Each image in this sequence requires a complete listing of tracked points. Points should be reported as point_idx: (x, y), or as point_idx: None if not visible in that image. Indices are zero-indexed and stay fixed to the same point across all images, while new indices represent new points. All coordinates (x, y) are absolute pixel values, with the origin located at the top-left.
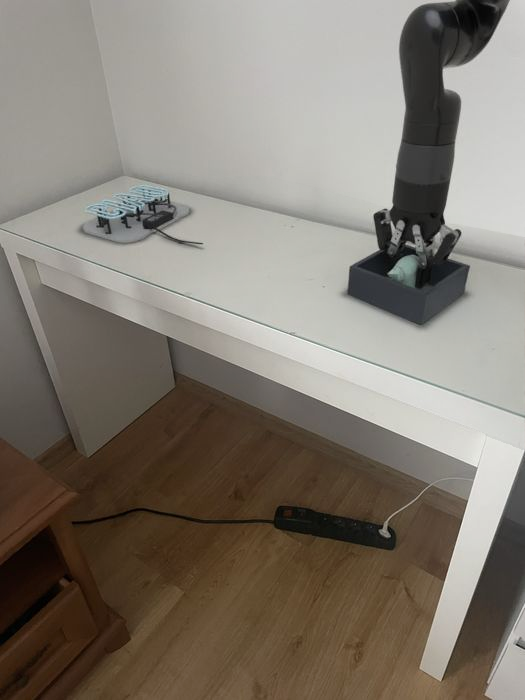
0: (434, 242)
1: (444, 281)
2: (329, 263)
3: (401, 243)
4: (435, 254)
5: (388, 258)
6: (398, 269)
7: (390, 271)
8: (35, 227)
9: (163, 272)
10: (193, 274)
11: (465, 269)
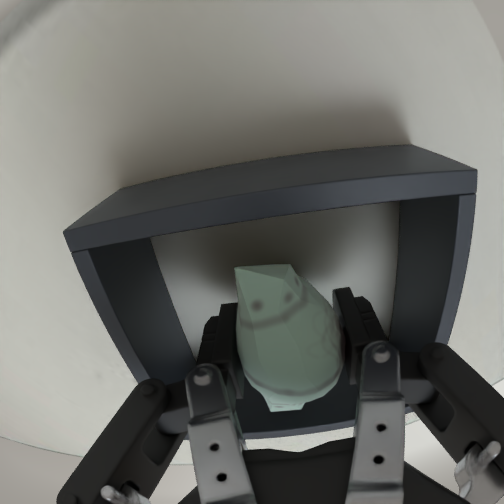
0: (403, 416)
1: (443, 341)
2: (41, 305)
3: (244, 443)
4: (432, 431)
5: (127, 270)
6: (292, 406)
7: (272, 409)
8: None
9: (40, 437)
10: (48, 431)
11: (473, 210)
